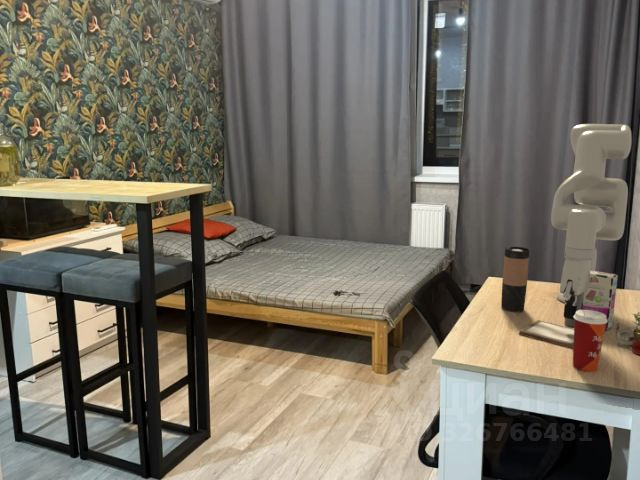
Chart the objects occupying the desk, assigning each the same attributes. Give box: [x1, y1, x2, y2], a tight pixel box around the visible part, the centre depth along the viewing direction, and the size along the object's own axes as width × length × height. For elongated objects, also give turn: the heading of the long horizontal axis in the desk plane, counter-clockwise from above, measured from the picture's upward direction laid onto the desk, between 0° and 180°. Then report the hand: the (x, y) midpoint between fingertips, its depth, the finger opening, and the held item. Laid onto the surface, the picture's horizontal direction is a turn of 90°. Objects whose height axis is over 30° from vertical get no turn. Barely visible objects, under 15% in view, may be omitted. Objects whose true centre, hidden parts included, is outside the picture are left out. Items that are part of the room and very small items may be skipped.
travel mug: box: [500, 246, 531, 313], centre depth 189 cm, size 8×8×20 cm
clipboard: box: [518, 319, 574, 349], centre depth 166 cm, size 13×16×2 cm
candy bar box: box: [582, 270, 619, 331], centre depth 174 cm, size 11×5×16 cm, turn 47°
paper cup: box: [572, 310, 608, 373], centre depth 144 cm, size 8×8×14 cm
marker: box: [564, 292, 583, 329], centre depth 164 cm, size 4×4×13 cm
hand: (572, 315), depth 164 cm, fingers closed on marker, 3 cm apart
